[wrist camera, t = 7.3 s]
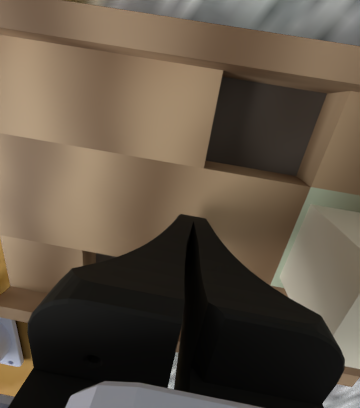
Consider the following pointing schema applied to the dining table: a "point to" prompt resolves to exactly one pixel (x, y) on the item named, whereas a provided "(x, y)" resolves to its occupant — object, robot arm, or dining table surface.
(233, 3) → the dining table surface
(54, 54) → the tray
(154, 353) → the robot arm
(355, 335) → the block
